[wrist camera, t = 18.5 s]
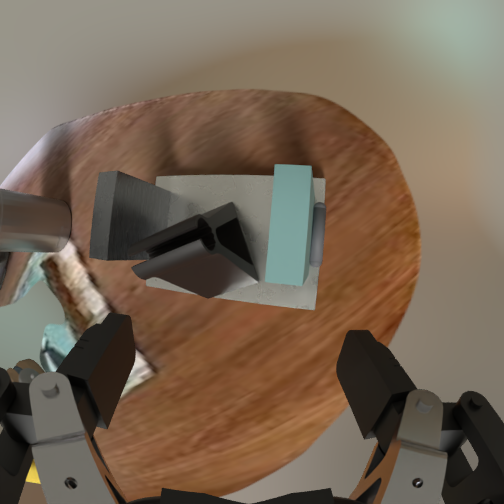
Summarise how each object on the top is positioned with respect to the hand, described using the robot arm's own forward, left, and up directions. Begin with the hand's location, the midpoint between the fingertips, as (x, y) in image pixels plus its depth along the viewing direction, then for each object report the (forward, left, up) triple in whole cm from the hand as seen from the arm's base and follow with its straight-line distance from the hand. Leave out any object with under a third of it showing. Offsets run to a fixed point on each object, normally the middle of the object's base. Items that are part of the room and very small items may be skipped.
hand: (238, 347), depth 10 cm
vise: (-10, +1, -21) cm, 23 cm away
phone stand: (-9, -1, -19) cm, 21 cm away
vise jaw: (-2, +5, -19) cm, 20 cm away
